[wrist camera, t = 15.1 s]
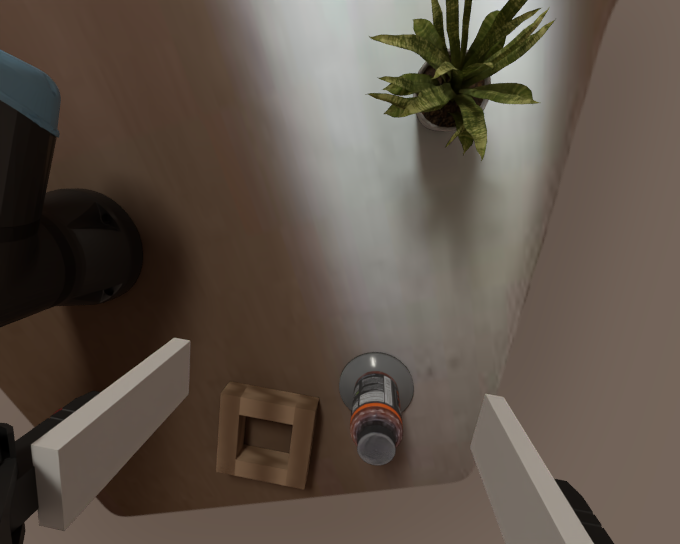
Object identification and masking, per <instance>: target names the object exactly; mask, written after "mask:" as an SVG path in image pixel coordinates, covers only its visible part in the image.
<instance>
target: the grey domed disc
mask: <svg viewBox="0 0 680 544" xmlns="http://www.w3.org/2000/svg"><path fill="white" fill-rule="evenodd" d="M371 371H380V372H384V373H386V374H388V375H389V376H391V377H392V378H393V379H394V381H395V382H396V384H397V387H398V391H399V400H400V409H401V412H403V411H404V410H405V409H406V408H407V406H408V405H409V403H410V402H411V399H412V396H413V391H414V386H413V380H412V377H411V374H410V372H409V370H408V369H407V367H406V366H405V365H404V364H403V363H402V362H401V361H400V360H398V359H397V358H395V357H393V356H391V355H388V354H385V353H378V352H372V353H366V354H362V355H359V356H357V357H355V358H354V359H352V360H351V361H350V362H349V363H348V364H347V365H346V366H345V368H344V369H343V371H342V374H341V377H340V383H339V390H340V395H341V397H342V400H343V402H344V403H345V405H346V406H347V407H348V408H349V409H350V410H351V411H352V402H353V393H354V387H355V384H356V382H357V380H358V379H359V378H360V377H361V376H362V375H363V374H365V373H367V372H371Z"/></svg>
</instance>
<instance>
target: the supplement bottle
mask: <svg viewBox="0 0 680 544" xmlns="http://www.w3.org/2000/svg"><path fill="white" fill-rule="evenodd" d="M350 433H351V437H352V439H353V441H354V443H355V444H356V446H357V450H358V454H359V456H360V457H361V458H362V459H363V460H364V461H365V462H367V463H369V464H371V465H384V464H387V463H388V462H390V461H391V460H392V459H393V457H394V455H395V451H396V447H397V446H398V445H399V444H400V442H401V439H402V436H403V426H402V417H401V409H400V400H399V391H398V387H397V384H396V382H395V381H394V379H393V378H392V377H391V376H389V375H388V374H386V373H384V372H380V371H371V372H367V373H365V374H363V375H362V376H361V377H360V378H359V379H358V380H357V382H356V384H355V387H354V393H353V402H352V411H351V422H350Z"/></svg>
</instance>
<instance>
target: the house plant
mask: <svg viewBox="0 0 680 544" xmlns="http://www.w3.org/2000/svg"><path fill="white" fill-rule="evenodd" d="M526 1H527V0H509V1H508V2H507V3H506V5H505V6H504V7H503V8H502V10H501V11H498V10H496V11H494V12H491V13H490V14H488V15H487V16H486V18H485V19H484V21H483V22H482V25H481V27H480V29H479V32H478V34H477V36H476V38H475V40H474V42H473V43H472V45H471V47H470V48H469V50H466V49H467V42H468V28H469V21H470V13H471V5H472V0H465V4H464V14H463V25H462V40H461V48H460V40H459V4H458V0H446V21H447V33H448V38H449V44H450V49H447V47H446V43H445V37H444V29H443V15H442V11H441V8H440V5H439V3H438V0H431V2H432V13H433V24H432V23H431V22H430V21H428V20H426V19H414V20H413V21H414V31H415V34H416V35H414V34H412V35H378V36H374V37H370V38H371V39H373V40H376V41H379V42H382V43H385V44H389V45H393V46H397V47H400V48H403V49H407V50H411V51H414V52H415V53H417V54H419V55H420V56H421V57H422V58H423V59H424V60H425V61H426V62H425V63H424V64H423V66H422V67H421V69H420V70H419V72H418V74H416V73H409V74H404V75H402V76H400V77H387V76H385V77H382V78H379V79H381V80H384V81H387V82H389V83H391V84H389V85H388V86H387V87H386V88H384V89H383V90H387V91H389V92H390V93H392V94H394V95H390V94H381V93H369V94H368V95H370V96H372V97H374V98H376V99H380V100H383V101H386V102H390V103H391V104H392V105H391V106H390V107H389V109H388V110H387V111H386V112H385V113H384V114H388V115H390V116H392V117H405V116H408V115H411V114H415V113H416V114H417V116H418V119H419V121H420V122H421V123H422V124H423V125H424V126H425V127H426V128H428V129H431V130H436V131H453V130H457V131H456V132H455V134H454V135H453V136H452V137H451V139H450V140H449V142H448V143H447V145H446V147H447V146H448V145H449V144H450V143H451V142H452V141H453V140H454V139H455V138H456V137H457V136H458V137H459V140H460V142H461V144H462V147H463V150H464V153H465V152H466V151H467V150H468V149H469V147H470V146H471V145H472V144H473V140H474V142H475V146H476V150H477V151H478V153H479V154H480V156H481V158H482V159H483V157H484V154H485V149H486V144H487V129H486V124H485V119H484V113H483V110H484V109H485V107H486V104H487V102H488V100H491V101H494V102H498V103H503V104H535V103H539V102H536V101H534V100H533V98H532V92H531V90H530V89H529V88H528V87H527V86H525V85H523V84H518V83H498V84H491V78H490V76H492V75H493V74H495V73H496V72H498V71H499V70H501V69H502V68H504V67H506V66H507V65H509V64H511V63H513V62H514V61H516V60H517V59H518V58H520V57H521V56H522V55H524V54H525V53H526V52H527V51H528V50H529V49H530V48H531V47H532V46H533V45H534V44H535V43H536V42H537V41H538V40H539V39H540V38H541V37H542V36H543V35H544V34H545V32H546V31H547V30H548V28H549V27H550V26H551V25H552V24H553V22H554V21H555V20H554V21H552V22H550V23H548V24H546V25H545V26H543V27H542V28H541V29H540V30H539V31H538V32H536V33H535V34H533V35H531V34H532V32H533V31H534V30H535V29H536V28H537V26H538V25H539V24H540V22H541V21H542V19H543V17H544V16H545V14H546V13H547V11H548V10H546V11H545V12H544V13H542V14H541V15H540V16H539V17H538V18H537V19H536V20H535V22H534V23H533V24H531V25H529V26H528V27H527V28H525V29H524V30H523V31H522V32H521V33H520V34H519V35H517V36H516V37H515V38H514V39H513V40H512V41H511V42H510V43H509V44H508V45H506V46H505V47H504V48H503V46H504V44H505V39H506V36H507V35H508V34H510V33H511V32H512V31H513V30H514V29H515V28H516V27H517V26H519V25H520V24H521V23H522V22H523V21H525V20H526V19H528V18H530V17H531V16H533V15H534V14H535V13H536V12H537V11H538V10H539V9H541V8H538V9H535V10H533V11H530V12H527V13H525V14H523V15H521V16H519V17H516V18H515V19H513V20H512V18H513V17H514V16H515V15H516V13H517V12H518V11H519V10H520V9H521V7H522V6H523V5H524V4H525V3H526ZM548 9H549V8H548ZM410 94H413V97H412V98H403V97H399V96H403V95H410ZM365 95H366V94H365ZM395 95H399V96H395ZM446 147H445V148H446ZM464 153H463V155H464ZM481 161H482V160H481Z"/></svg>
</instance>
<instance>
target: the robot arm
mask: <svg viewBox="0 0 680 544" xmlns="http://www.w3.org/2000/svg"><path fill="white" fill-rule="evenodd" d="M60 101H61V97H60V92H59V89H58V87H57V85H56V84H55V83H54V81H53V80H52V79H51V78H50V77H49V76H48V75H47V74H46V73H44V72H43V71H41V70H39V69H37V68H36V67H34V66H32V65H30V64H28V63H26V62H24V61H22V60H20V59H18V58H16V57H14V56H12V55H10V54H8V53H6V52H4V51H2V50H0V327H2V326H5V325H7V324H10V323H13V322H15V321H18V320H20V319H23V318H25V317H28V316H30V315H33V314H36V313H38V312H41V311H43V310H46V309H49V308H51V307H54V306H72V305H94V304H99V303H103V302H106V301H109V300H111V299H113V298H116V297H118V296H120V295H122V294H124V293H125V292H127V291H128V290H129V289H130V288H131V287H132V286H133V284H134V283H135V282H136V280H137V278H138V276H139V273H140V271H141V267H142V260H143V252H142V244H141V240H140V237H139V234H138V231H137V229H136V227H135V225H134V223H133V222H132V220H131V218H130V217H129V216H128V214H127V213H126V212H125V211H124V210H123V209H122V208H121V207H120V206H119V205H118V204H117V203H116V202H114V201H113V200H112V199H110V198H108V197H107V196H105V195H103V194H101V193H98V192H96V191H92V190H88V189H59V190H54V191H50V192H47V193H46V189H47V184H48V179H49V174H50V168H51V163H52V158H53V153H54V148H55V143H56V138H57V137H59V131H58V129H57V126H58V118H59V110H60ZM189 368H190V340H184V339H179V338H173V339H172V340H170V341H169V342H168V343H166V344H165V345H164V346H162V347H161V348H160V349H158V350H157V351H156V352H154V353H153V354H152V355H150V356H149V357H148V358H146V359H145V360H144V361H142V362H141V363H140V364H138V365H137V366H136V367H134V368H133V369H132V370H130V371H129V372H128V373H126V374H125V375H124V376H122V377H121V378H120V379H118V380H117V381H116V382H114V383H113V384H111V385H110V386H109V387H107V388H106V389H105V390H103V391H102V392H97V391H92V392H90V393H87V394H85V395H83V396H80V397H78V398H76V399H75V400H73V401H72V402H70V403H69V404H67V405H66V406H65V407H63V408H62V410H59V411H58V412H56V413H55V414H53V415H52V416H51V417H50V419H49V418H48V419H46V420H45V421H43V422H42V423H41V424H39V425H38V426H36V427H35V428H33V429H32V430H31V431H29V432H28V433H26V434H25V435H24V436H22V437H21V438H20V439H18V440H16V441H15V440H14V431H13V427H12V426H11V425H9V424H7V423H0V544H23V540H24V535H25V524H24V522H25V521H26V520H27V519H28V518H29V517H30V516H31V515H32V514H33V513H34V512H35V511H36V510H37V509H38V518H39V525H40V526H44V527H48V528H53V529H58V530H62V531H65V530H66V529H67V528H68V527H69V526H70V524H71V523H72V522H73V521H74V520H75V519H76V518H77V517H78V516H79V515H80V513H81V512H82V511H83V510H84V509H85V508H86V507H87V506H88V505H89V503H90V502H91V501H92V500H93V499H94V498H95V497H96V496H97V495H98V494H99V492H100V491H101V490H102V489H103V488H104V487H105V486H106V485H107V484H108V482H109V481H110V480H111V479H112V478H113V477H114V476H115V475H116V474H117V473H118V471H119V470H120V469H121V468H122V467H123V466H124V465H125V464H126V463H127V461H128V460H129V459H130V458H131V457H132V456H133V455H134V454H135V453H136V452H137V450H138V449H139V448H140V447H141V446H142V445H143V444H144V443H145V442H146V440H147V439H148V438H149V437H150V436H151V435H152V434H153V433H154V432H155V430H156V429H157V428H158V427H159V426H160V425H161V424H162V423H163V422H164V421H165V419H166V418H167V417H168V416H169V415H170V414H171V413H172V412H173V411H174V409H175V408H176V407H177V406H178V405H179V404H180V403H181V402H182V401H183V400H184V398H185V397H186V396H187V395H188V394H189ZM470 448H471V451H472V454H473V457H474V459H475V462H476V465H477V467H478V470H479V473H480V476H481V478H482V481H483V484H484V486H485V489H486V492H487V495H488V497H489V500H490V503H491V506H492V508H493V511H494V514H495V517H496V519H497V522H498V524H499V527H500V530H501V533H502V536H503V538H504V541H505V544H614V543H613V541H612V540H611V538H610V537H609V536H608V534H607V532H606V531H605V530H604V528H602V527H601V523H600V522H599V521H598V519H597V518H596V516H595V515H593V513H592V510H591V509H590V507H589V506H588V504H587V503H586V501H585V500H584V498H583V497H582V496H581V495H580V494H579V493H578V492H577V491H576V490H575V489H574V488H573V487H572V486H571V485H570V484H569V483H568V482H567V481H563V480H558V479H554V478H553V477H552V475H551V473H550V472H549V470H548V469H547V467H546V465H545V464H544V462H543V460H542V459H541V457H540V455H539V454H538V452H537V451H536V449H535V447H534V446H533V444H532V442H531V441H530V439H529V438H528V436H527V434H526V433H525V431H524V429H523V428H522V426H521V425H520V423H519V421H518V420H517V418H516V417H515V415H514V413H513V412H512V410H511V408H510V407H509V405H508V403H507V402H506V400H505V399H504V397H500V396H495V395H489V394H485V397H484V400H483V404H482V407H481V411H480V414H479V418H478V421H477V425H476V428H475V432H474V436H473V439H472V443H471V446H470Z"/></svg>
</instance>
